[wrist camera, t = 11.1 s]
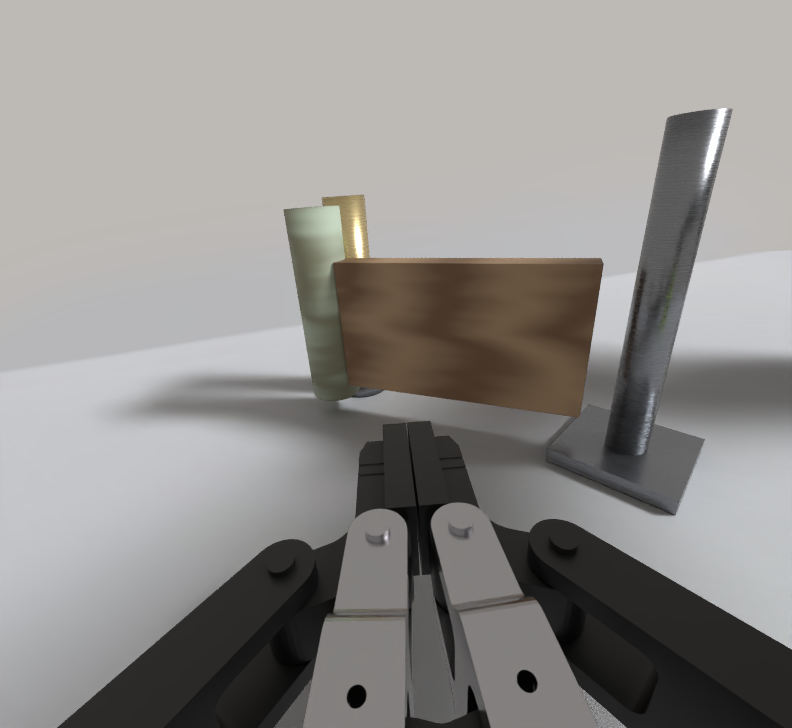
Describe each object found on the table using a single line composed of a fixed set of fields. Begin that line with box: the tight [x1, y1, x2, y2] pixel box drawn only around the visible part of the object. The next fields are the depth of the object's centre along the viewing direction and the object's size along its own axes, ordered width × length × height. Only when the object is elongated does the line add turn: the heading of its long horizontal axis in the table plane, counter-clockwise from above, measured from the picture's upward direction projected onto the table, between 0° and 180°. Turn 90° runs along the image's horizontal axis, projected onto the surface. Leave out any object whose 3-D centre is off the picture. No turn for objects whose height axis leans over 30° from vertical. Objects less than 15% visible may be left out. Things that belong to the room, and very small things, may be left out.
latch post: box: [322, 195, 383, 397], centre depth 28 cm, size 4×4×14 cm
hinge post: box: [546, 109, 733, 515], centre depth 18 cm, size 6×6×16 cm
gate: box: [284, 206, 603, 418], centre depth 22 cm, size 17×3×12 cm, turn 68°
